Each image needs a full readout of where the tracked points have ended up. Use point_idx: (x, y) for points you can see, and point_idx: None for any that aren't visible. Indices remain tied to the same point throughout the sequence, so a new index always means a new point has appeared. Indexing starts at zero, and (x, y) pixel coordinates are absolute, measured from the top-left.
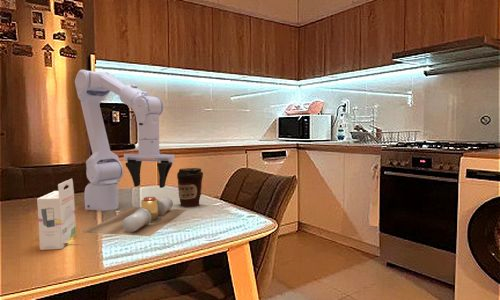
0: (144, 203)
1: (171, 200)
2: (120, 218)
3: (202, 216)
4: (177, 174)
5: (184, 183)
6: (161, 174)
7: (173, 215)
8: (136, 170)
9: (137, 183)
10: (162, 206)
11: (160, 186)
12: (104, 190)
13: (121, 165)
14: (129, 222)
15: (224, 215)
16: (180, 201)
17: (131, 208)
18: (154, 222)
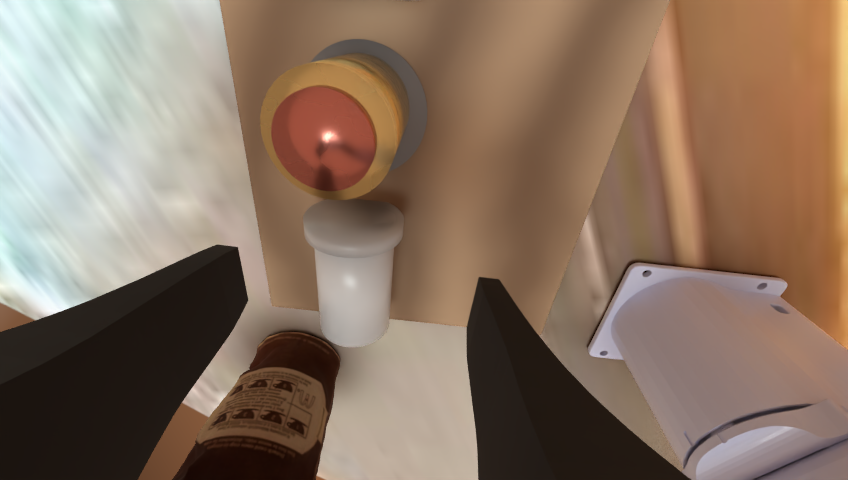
0: (346, 66)
1: (321, 329)
2: (553, 135)
3: (180, 248)
4: None
5: (242, 447)
6: (65, 319)
7: (282, 210)
8: (503, 450)
9: (476, 310)
10: (315, 220)
11: (219, 250)
12: (752, 371)
13: None
14: None
15: (96, 266)
16: (329, 377)
17: (542, 317)
18: (315, 57)
